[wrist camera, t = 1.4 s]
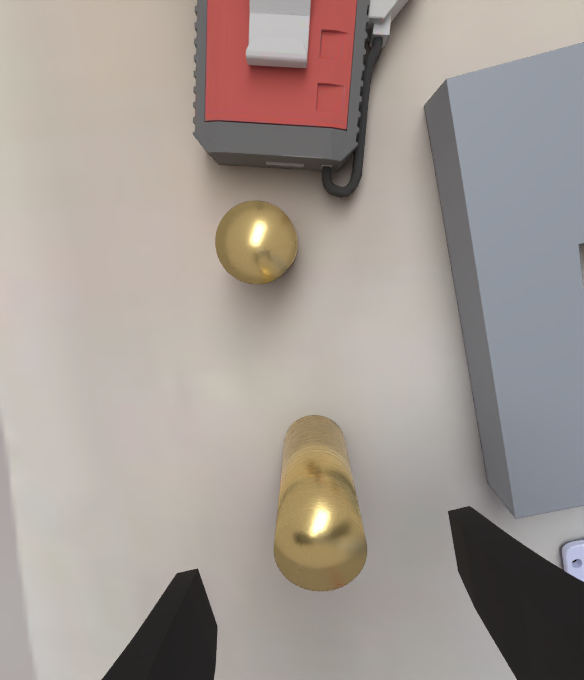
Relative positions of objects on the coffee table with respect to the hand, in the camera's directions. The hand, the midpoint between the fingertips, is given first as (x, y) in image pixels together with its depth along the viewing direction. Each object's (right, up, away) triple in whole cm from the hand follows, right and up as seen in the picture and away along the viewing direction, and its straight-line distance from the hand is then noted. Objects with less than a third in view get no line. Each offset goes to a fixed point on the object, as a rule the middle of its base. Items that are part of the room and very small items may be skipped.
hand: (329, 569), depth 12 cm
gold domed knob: (-2, +11, +8) cm, 14 cm away
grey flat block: (+12, +9, +8) cm, 17 cm away
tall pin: (0, +1, +10) cm, 10 cm away
